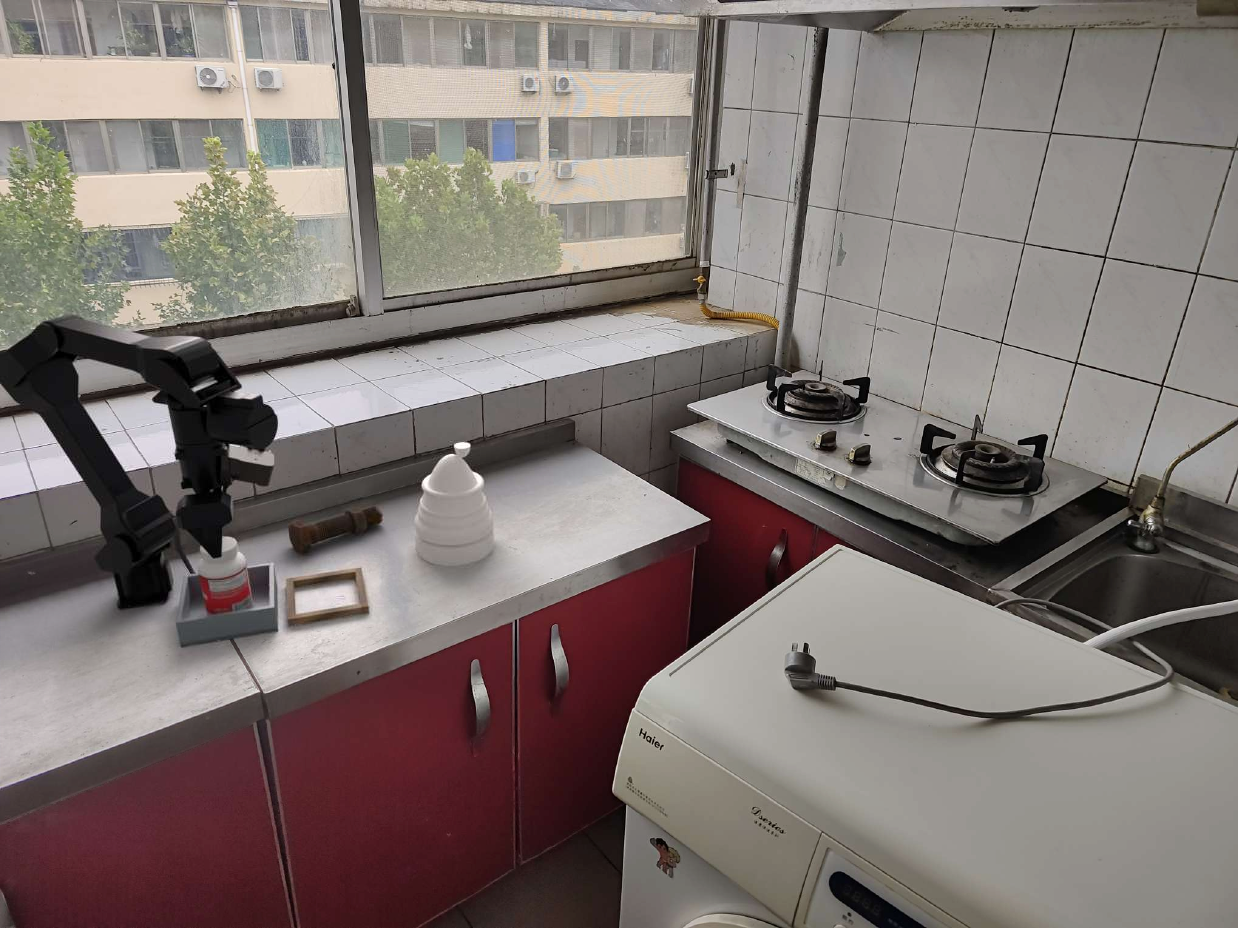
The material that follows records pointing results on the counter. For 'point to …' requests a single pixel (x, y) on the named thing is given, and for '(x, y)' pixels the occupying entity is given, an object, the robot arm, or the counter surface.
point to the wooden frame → (327, 613)
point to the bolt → (332, 527)
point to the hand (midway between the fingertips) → (219, 540)
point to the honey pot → (453, 514)
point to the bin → (228, 625)
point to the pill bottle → (225, 579)
